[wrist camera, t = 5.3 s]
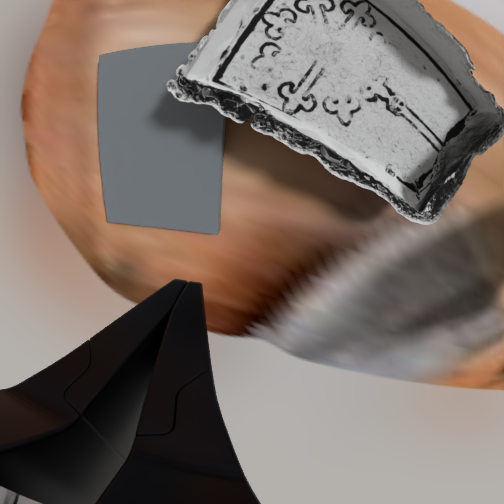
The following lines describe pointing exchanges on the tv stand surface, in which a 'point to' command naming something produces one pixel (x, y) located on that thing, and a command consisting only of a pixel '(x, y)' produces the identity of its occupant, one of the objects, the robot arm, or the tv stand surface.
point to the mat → (157, 143)
